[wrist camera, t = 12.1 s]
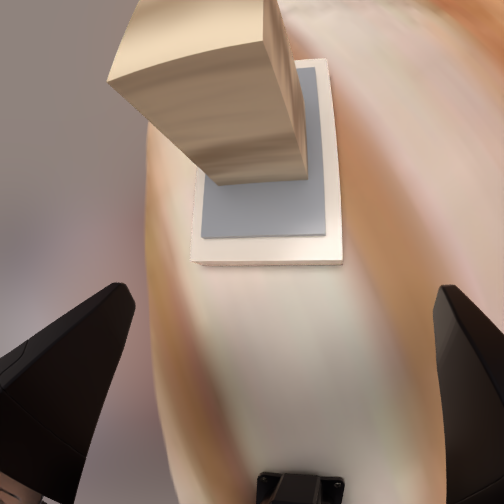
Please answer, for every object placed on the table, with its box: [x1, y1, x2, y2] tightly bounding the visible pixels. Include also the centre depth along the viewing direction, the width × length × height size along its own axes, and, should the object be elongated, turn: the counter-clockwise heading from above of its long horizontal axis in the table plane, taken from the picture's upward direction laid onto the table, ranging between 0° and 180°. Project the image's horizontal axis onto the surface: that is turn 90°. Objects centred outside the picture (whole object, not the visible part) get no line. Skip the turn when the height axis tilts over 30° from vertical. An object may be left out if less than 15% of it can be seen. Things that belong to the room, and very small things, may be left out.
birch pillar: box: [107, 0, 308, 186], centre depth 15 cm, size 6×6×12 cm
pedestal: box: [190, 58, 342, 266], centre depth 22 cm, size 16×10×3 cm, turn 178°
